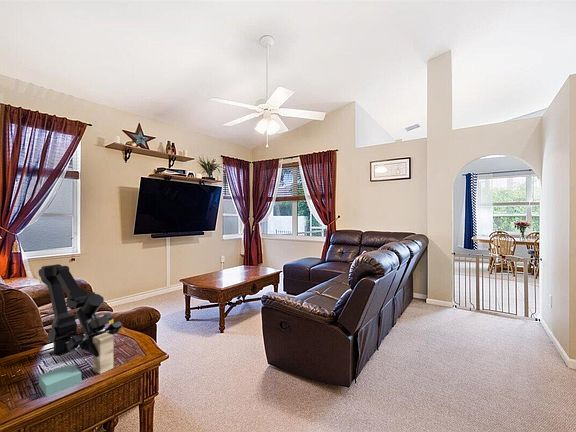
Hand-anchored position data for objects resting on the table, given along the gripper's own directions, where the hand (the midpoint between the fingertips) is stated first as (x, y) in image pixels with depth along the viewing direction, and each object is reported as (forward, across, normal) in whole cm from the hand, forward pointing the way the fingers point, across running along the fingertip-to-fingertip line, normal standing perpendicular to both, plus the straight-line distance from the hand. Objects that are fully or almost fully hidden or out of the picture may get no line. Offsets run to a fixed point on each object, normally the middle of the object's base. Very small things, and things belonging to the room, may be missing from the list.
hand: (105, 353), depth 114 cm
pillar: (+4, 0, +6) cm, 7 cm away
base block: (+1, -13, +8) cm, 16 cm away
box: (-10, +10, +19) cm, 24 cm away
